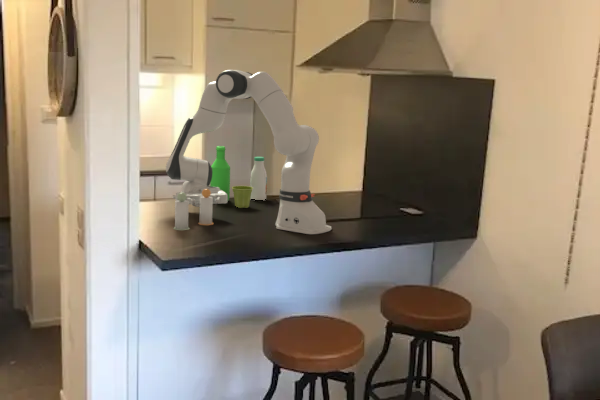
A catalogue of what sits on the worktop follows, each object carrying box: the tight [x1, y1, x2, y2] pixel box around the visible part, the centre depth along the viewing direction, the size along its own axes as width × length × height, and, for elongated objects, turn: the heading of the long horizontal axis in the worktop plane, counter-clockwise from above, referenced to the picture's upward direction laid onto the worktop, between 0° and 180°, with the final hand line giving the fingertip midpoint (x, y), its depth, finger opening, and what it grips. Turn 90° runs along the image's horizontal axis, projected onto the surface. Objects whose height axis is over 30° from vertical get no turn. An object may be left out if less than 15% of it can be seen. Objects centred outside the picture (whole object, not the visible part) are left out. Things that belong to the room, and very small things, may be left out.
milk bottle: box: [249, 156, 268, 201], centre depth 300 cm, size 8×8×20 cm
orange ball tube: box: [198, 189, 214, 226], centre depth 244 cm, size 5×5×13 cm
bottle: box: [209, 145, 231, 202], centre depth 292 cm, size 9×9×25 cm
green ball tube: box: [174, 191, 189, 231], centre depth 235 cm, size 5×5×13 cm
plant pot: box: [231, 185, 253, 209], centre depth 283 cm, size 9×9×9 cm
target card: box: [173, 221, 214, 231], centre depth 241 cm, size 10×20×1 cm, turn 141°
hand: (205, 202), depth 245 cm, fingers open, 8 cm apart
